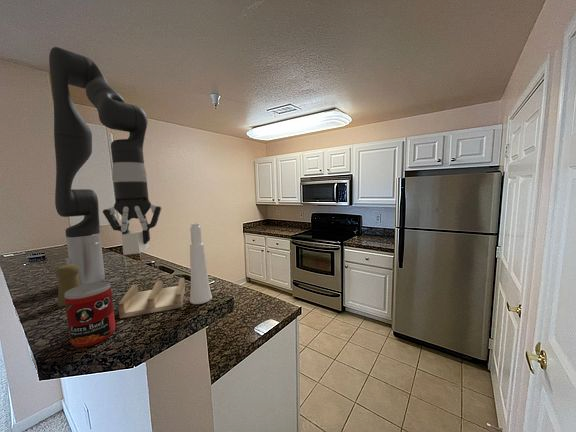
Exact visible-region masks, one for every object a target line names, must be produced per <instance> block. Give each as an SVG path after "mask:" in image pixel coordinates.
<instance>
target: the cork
mask: <svg viewBox="0 0 576 432" xmlns="http://www.w3.org/2000/svg"><path fill="white" fill-rule="evenodd" d="M78 273H79V266H78V265H76V264H68V265H67V264H64V265H61V266H59V267H57V268H56V270H55V276H56V277H57V278H58V291H57V292H58V293H57V306H58V307H65V298H64V296H65V295H64V294H65V292H67V291H68V290H70V289H72V288H74V287H77V286H80V285H81V284H80V281H79V278H78Z"/></svg>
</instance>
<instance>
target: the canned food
mask: <svg viewBox="0 0 576 432" xmlns="http://www.w3.org/2000/svg"><path fill="white" fill-rule="evenodd" d="M112 293H113V292H112V286H111V282H109V281H101V282H93V283H88V284H84V285H80V286H77V287H74V288H72V289H70V290H68V291H67V292H65V294H64V295H65V296H64V298H65V306H64V307H65V313H66V318H67V319H66V320H67V326H68V332H69V333H68V334H69V340H70V343H71V345H72V346H73V347H75V348H85V347H90V346H93V345H96V344H99V343H101V342H103V341H105V340H107V339H108V338H110V337H111V336H112V335H113V334H114V333H115V330H116V320H115V310H114V302H113V294H112Z"/></svg>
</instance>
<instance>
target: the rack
mask: <svg viewBox="0 0 576 432" xmlns="http://www.w3.org/2000/svg"><path fill="white" fill-rule="evenodd" d="M185 285H186V284H185V277H180V278H179V281H178V285H175V286H169V287H168V286H167V287H164V286H163V280H158V281H156V282H155V284H154V285H153V287H152V289H149V290H143V291H139V289H138V288H139V287H138V283H136V284H135V283H134V284H132V285H131V286H130V287H129V289H128V290H127V291H126V293H125V294H124V296H123V297H122V298H121V300H120V301H119V302H118V304H117V307H118V308H117V309H118V314H119V317H118V318H119V319H125V318H130V317H136V316H141V315H147V314H152V313H158V312H163V311H169V310H174V309H175V310H176V309H179V308H180V309H181V308H183V304H184V297H185V291H186V286H185Z"/></svg>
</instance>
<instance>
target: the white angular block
mask: <svg viewBox="0 0 576 432" xmlns="http://www.w3.org/2000/svg"><path fill="white" fill-rule="evenodd" d="M142 231H143V230H137V231H136V230H135V231H132V232H131V231H130V233H127V234H123V235H122V234H121V241H122V253H123V254H122V255H123V256H126V255H127V256H128V255H135V254H141V253H142V252H144V251H145V250H147V249H148V248H150V241H149V242H148V243H147V244H144V242H143V232H142Z"/></svg>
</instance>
